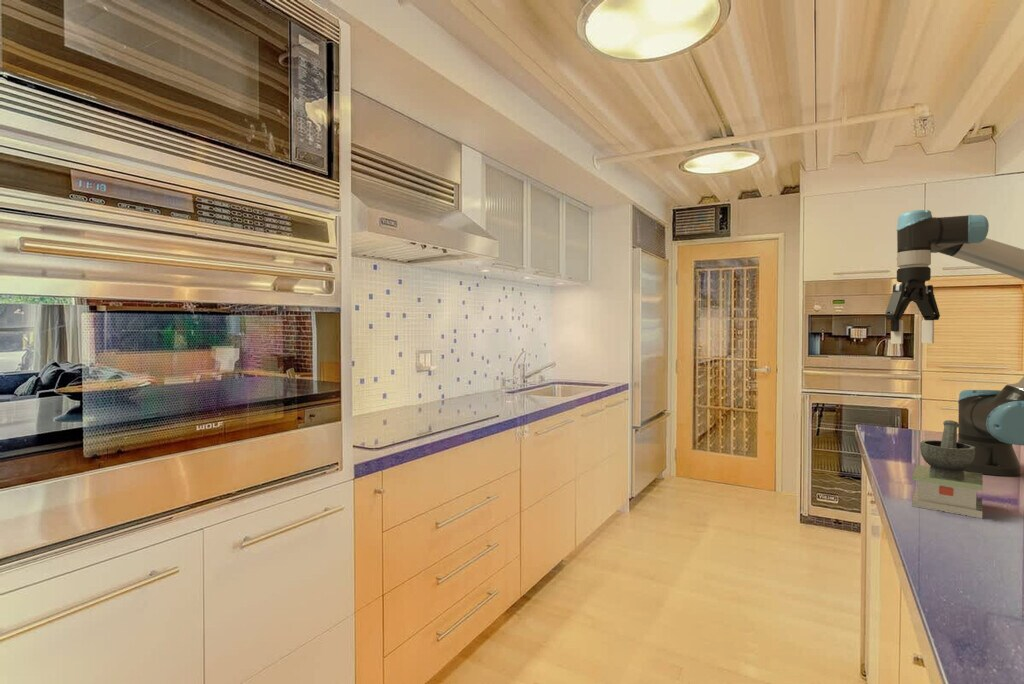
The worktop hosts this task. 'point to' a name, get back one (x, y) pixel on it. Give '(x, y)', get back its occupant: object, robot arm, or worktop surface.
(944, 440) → the mortar and pestle
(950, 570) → the worktop surface
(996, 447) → the robot arm
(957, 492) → the stand
